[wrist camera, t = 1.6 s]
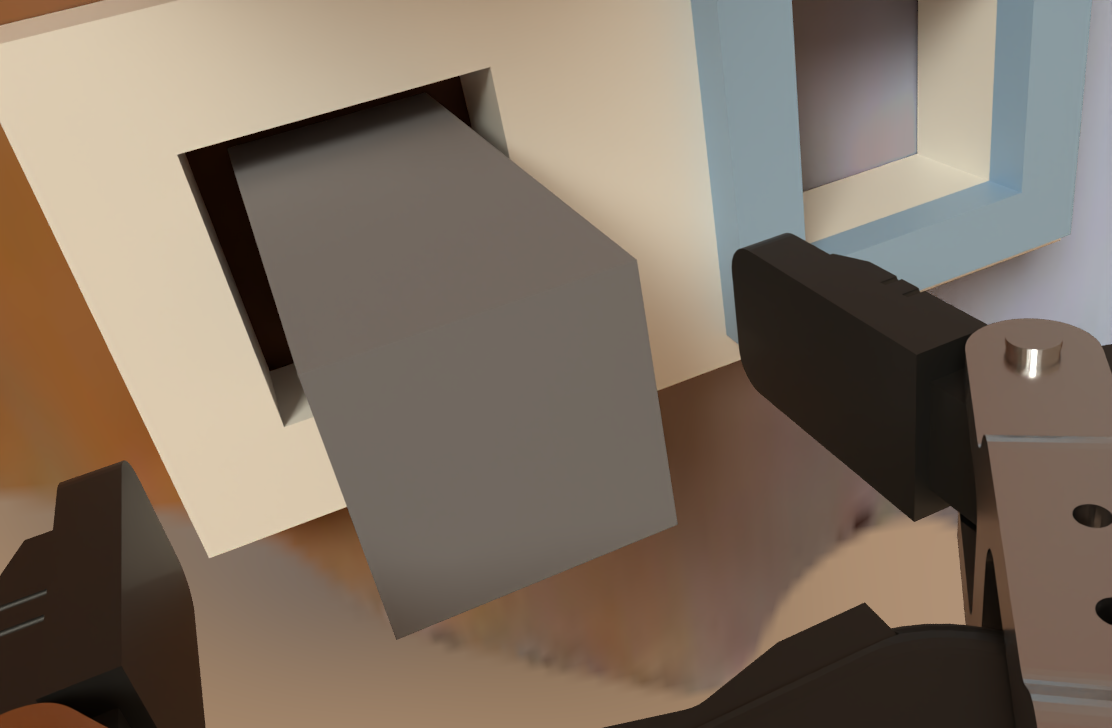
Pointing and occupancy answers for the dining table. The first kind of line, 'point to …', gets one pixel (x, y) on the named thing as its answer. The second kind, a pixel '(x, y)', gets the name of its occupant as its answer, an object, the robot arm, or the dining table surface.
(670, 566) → the dining table surface
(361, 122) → the plug
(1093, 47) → the dining table surface
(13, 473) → the dining table surface
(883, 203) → the socket block
